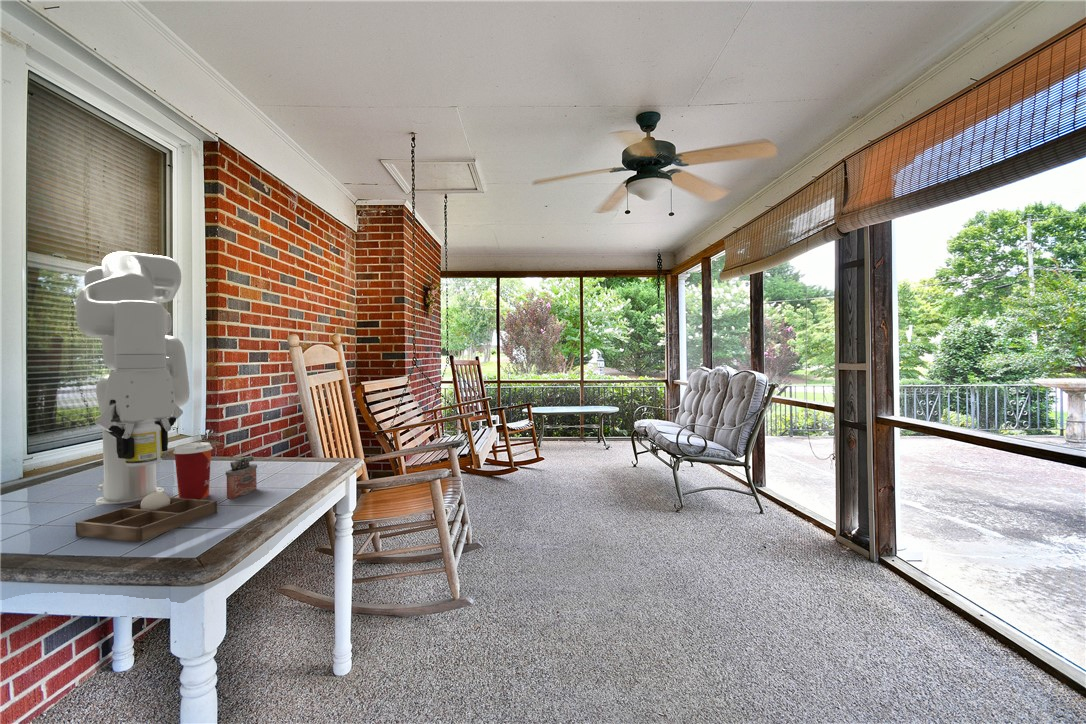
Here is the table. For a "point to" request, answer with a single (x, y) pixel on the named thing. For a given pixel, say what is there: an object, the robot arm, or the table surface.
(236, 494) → the lighter
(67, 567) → the table surface
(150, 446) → the supplement bottle
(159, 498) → the white ball
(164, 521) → the wooden compartment tray
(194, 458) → the paper cup
